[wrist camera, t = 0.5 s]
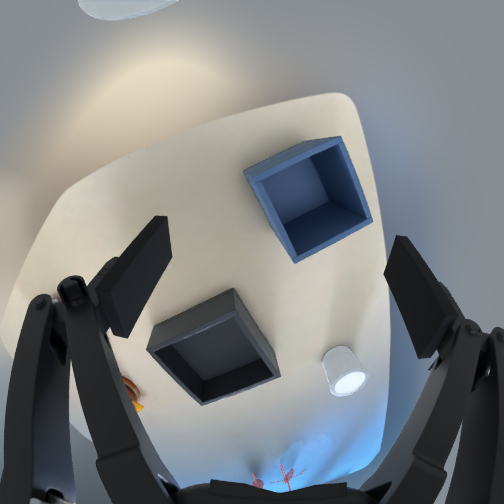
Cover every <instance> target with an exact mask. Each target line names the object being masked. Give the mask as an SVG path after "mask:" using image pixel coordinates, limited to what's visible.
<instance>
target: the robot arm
mask: <svg viewBox="0 0 504 504" xmlns="http://www.w3.org/2000/svg"><path fill="white" fill-rule="evenodd" d="M171 259H172V251H171V243H170V235H169V227H168V218H167V216H154V218H153V219H152V220H151V221H150V222H149V223H148V224H147V225H146V226H145V228H144V229H143V230H142V231H141V232H140V233H139V234H138V236H137V237H136V238H135V239H134V240H133V241H132V243H131V244H130V245H129V246H128V247H127V248H126V250H125V251H124V252H123V253H122V254H121V256H120V257H114V258H112V259H111V260H109V261H108V262H106V264H105V265H104V266H103V267H102V268H101V270H100V271H99V272H98V273H97V275H96V276H95V277H94V278H93V279H92V281H91V282H90V283H89V284H88V286H86V284H85V281H84V279H83V277H81V276H77V275H74V276H70V277H67V278H65V279H64V280H63V281H61V282H60V284H59V285H58V287H57V291H58V293H59V296H60V298H61V300H62V302H54V303H53V301H52V298H51V297H50V295H48V294H41V295H38V296H37V297H35V298H34V299H33V300H32V301H31V302H30V304H29V307H28V310H27V313H26V316H25V319H24V322H23V326H22V329H21V333H20V336H19V340H18V344H17V348H16V352H15V357H14V362H13V366H12V371H11V377H10V383H9V389H8V397H7V404H6V414H5V429H4V469H3V473H2V478H1V483H0V504H75V503H76V493H75V492H76V491H75V480H74V473H73V465H72V456H71V445H70V430H69V379H70V362H72V367H73V372H74V377H75V381H76V386H77V390H78V394H79V398H80V402H81V405H82V409H83V412H84V416H85V419H86V422H87V425H88V429H89V432H90V434H91V437H92V440H93V443H94V446H95V448H96V451H97V454H98V459H97V460H96V467H97V470H98V473H99V475H100V478H101V480H102V482H103V484H104V486H105V489H106V491H107V493H108V495H109V497H110V499H111V501H112V503H113V504H433V503H434V501H435V500H436V498H437V496H438V494H439V492H440V491H441V489H442V487H443V485H444V482H445V480H446V477H447V472H446V471H444V465H445V463H446V460H447V458H448V456H449V453H450V451H451V449H452V447H453V444H454V441H455V439H456V436H457V434H458V431H459V428H460V425H461V422H462V420H463V422H462V429H461V436H460V442H459V449H458V453H457V458H456V463H455V468H454V472H453V476H452V480H451V484H450V487H449V491H448V494H447V498H446V501H445V504H504V329H502V328H500V327H495V328H494V329H493V330H492V332H491V333H490V334H487V333H483V332H482V331H481V329H480V327H479V326H478V324H477V323H475V322H474V321H472V320H470V319H465V317H464V315H463V314H462V312H461V310H460V308H459V307H458V305H457V303H456V302H455V300H454V298H453V297H452V296H451V294H450V292H449V290H448V289H447V288H446V287H445V286H444V285H443V284H442V283H441V282H438V281H437V279H436V278H435V276H434V274H433V273H432V271H431V270H430V268H429V267H428V265H427V264H426V263H425V261H424V260H423V258H422V257H421V255H420V254H419V252H418V251H417V250H416V248H415V247H414V246H413V244H412V243H411V241H410V240H409V239H408V237H406V236H398V235H396V238H395V241H394V244H393V247H392V250H391V253H390V256H389V259H388V262H387V265H386V268H385V271H384V276H385V278H386V281H387V283H388V285H389V287H390V289H391V292H392V294H393V296H394V298H395V301H396V303H397V305H398V308H399V310H400V312H401V315H402V317H403V320H404V322H405V325H406V327H407V330H408V332H409V335H410V337H411V340H412V343H413V345H414V348H415V351H416V354H417V357H418V359H422V358H431V356H432V355H433V354H434V352H435V351H436V349H437V351H438V353H439V356H438V357H437V359H436V360H435V361H434V363H433V364H432V365H431V366H430V368H429V369H428V370H431V368H432V370H431V373H430V375H429V377H428V380H427V382H426V385H425V387H424V389H423V391H422V393H421V395H420V397H419V400H418V402H417V404H416V406H415V408H414V410H413V411H412V414H411V415H410V417H409V419H408V421H407V423H406V425H405V426H404V428H403V430H402V432H401V433H400V435H399V437H398V439H397V440H396V442H395V444H394V445H393V447H392V448H391V450H390V452H389V453H388V455H387V456H386V458H385V459H384V461H383V462H382V464H381V465H380V467H379V468H378V469H377V471H376V472H375V473H374V474H373V475H372V477H370V478H369V479H368V480H367V481H366V482H365V483H364V484H363V485H362V486H361V487H360V489H358V490H357V489H353V488H349V487H347V483H346V482H344V483H335V484H322V485H313V486H309V487H305V488H301V489H297V490H293V491H288V492H284V493H277V492H273V491H269V490H265V489H262V488H258V487H255V486H251V485H248V484H245V483H235V482H227V481H220V480H213V479H211V481H210V483H203V484H197V485H193V486H189V487H186V488H184V489H181V488H180V487H179V485H178V484H177V482H176V481H175V479H174V478H173V476H172V475H171V473H170V472H169V471H168V469H167V468H166V467H165V465H164V464H163V462H162V461H161V459H160V457H159V455H158V454H157V452H156V450H155V448H154V446H153V444H152V442H151V441H150V439H149V437H148V435H147V433H146V431H145V429H144V427H143V425H142V423H141V420H140V418H139V416H138V414H137V412H136V410H135V407H134V405H133V403H132V400H131V398H130V396H129V393H128V391H127V388H126V386H125V383H124V381H123V378H122V376H121V373H120V370H119V368H118V365H117V362H116V359H115V356H114V353H113V350H112V347H111V344H110V341H109V338H108V336H107V333H106V332H107V331H108V329H109V327H110V328H111V330H112V333H113V335H115V336H119V337H123V338H127V339H128V337H129V335H130V333H131V331H132V329H133V327H134V325H135V323H136V322H137V320H138V318H139V316H140V314H141V312H142V310H143V308H144V306H145V305H146V303H147V301H148V299H149V297H150V295H151V294H152V292H153V290H154V288H155V286H156V285H157V283H158V281H159V279H160V278H161V276H162V274H163V272H164V271H165V269H166V267H167V265H168V264H169V262H170V260H171ZM489 369H490V373H489V375H488V371H489Z"/></svg>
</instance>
